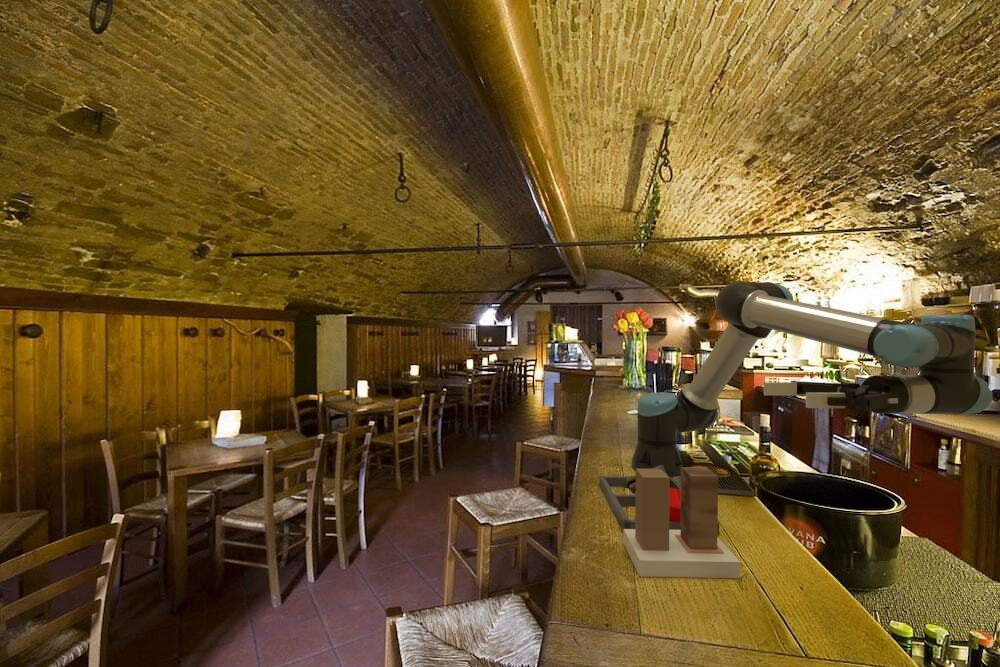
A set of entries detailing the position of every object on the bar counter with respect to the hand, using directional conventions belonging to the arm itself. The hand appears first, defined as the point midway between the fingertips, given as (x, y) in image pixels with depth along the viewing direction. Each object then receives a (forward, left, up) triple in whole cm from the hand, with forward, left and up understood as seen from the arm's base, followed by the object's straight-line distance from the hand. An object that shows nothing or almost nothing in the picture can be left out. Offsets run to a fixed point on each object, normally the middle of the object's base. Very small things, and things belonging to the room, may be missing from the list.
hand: (783, 394), depth 86 cm
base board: (+3, -22, -32) cm, 39 cm away
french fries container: (-15, -19, -32) cm, 40 cm away
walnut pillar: (+3, -18, -29) cm, 34 cm away
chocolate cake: (-31, -17, -32) cm, 48 cm away
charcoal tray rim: (-22, -19, -32) cm, 43 cm away
